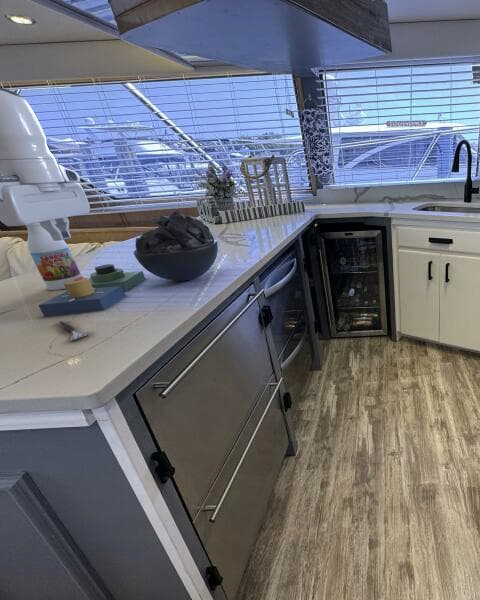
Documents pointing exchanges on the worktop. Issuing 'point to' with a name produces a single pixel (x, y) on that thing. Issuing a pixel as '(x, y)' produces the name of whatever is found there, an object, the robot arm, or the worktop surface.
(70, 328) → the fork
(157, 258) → the coal bowl
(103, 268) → the black round button
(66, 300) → the dial panel
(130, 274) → the green stepped base
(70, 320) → the worktop surface
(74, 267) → the milk bottle
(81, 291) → the dial
